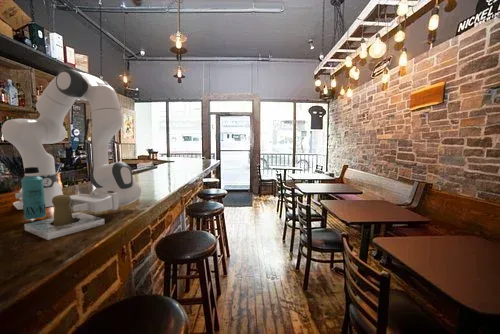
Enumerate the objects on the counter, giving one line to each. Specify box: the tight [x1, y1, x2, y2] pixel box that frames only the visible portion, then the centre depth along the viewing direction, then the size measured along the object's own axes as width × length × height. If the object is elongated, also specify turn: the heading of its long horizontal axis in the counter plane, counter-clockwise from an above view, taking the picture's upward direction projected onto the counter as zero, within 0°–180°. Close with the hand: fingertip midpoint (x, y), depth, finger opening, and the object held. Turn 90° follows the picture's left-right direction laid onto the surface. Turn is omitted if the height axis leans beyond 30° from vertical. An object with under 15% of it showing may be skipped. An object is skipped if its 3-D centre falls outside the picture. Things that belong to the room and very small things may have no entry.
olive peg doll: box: [52, 194, 74, 226], centre depth 90 cm, size 6×6×11 cm
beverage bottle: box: [20, 167, 47, 220], centre depth 96 cm, size 6×7×20 cm
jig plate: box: [24, 211, 105, 241], centre depth 90 cm, size 17×17×2 cm
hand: (64, 207), depth 89 cm, fingers open, 8 cm apart
